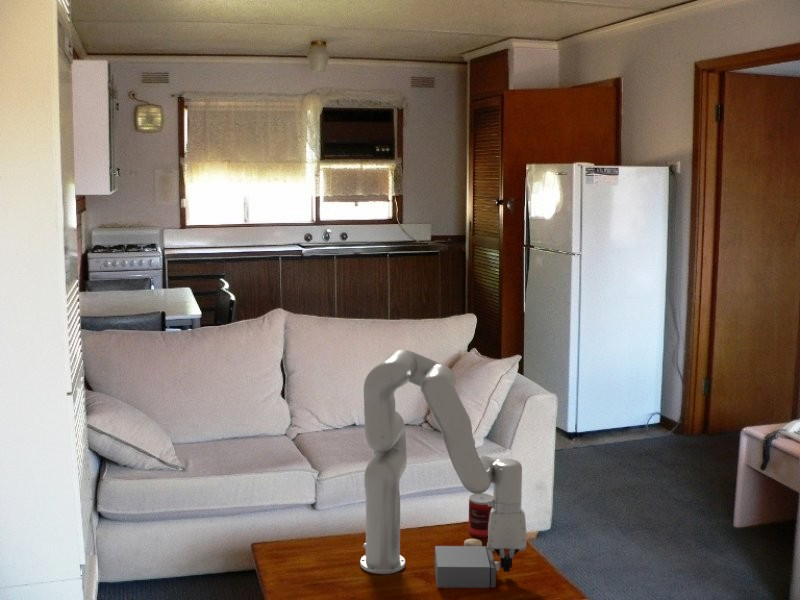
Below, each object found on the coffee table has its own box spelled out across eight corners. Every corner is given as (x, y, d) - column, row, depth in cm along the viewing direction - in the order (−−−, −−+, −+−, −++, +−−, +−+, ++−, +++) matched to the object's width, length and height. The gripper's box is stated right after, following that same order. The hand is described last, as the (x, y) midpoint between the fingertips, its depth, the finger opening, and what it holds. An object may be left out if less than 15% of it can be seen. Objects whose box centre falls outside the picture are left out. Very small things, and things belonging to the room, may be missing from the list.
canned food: (487, 525, 288) (488, 491, 286) (497, 535, 280) (498, 501, 279) (464, 528, 285) (465, 494, 284) (474, 539, 278) (475, 503, 276)
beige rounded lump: (460, 555, 266) (460, 540, 266) (474, 552, 269) (475, 537, 268) (470, 562, 262) (470, 547, 261) (484, 558, 265) (485, 543, 264)
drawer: (441, 586, 247) (441, 567, 246) (438, 564, 260) (438, 545, 259) (501, 587, 247) (501, 568, 246) (495, 564, 260) (496, 546, 259)
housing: (436, 587, 247) (437, 566, 246) (434, 565, 260) (435, 545, 259) (489, 587, 247) (490, 567, 246) (484, 565, 260) (485, 546, 259)
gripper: (480, 511, 247) (479, 576, 250) (537, 510, 247) (535, 576, 250) (478, 500, 254) (477, 564, 257) (533, 500, 254) (531, 563, 257)
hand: (506, 569), depth 253 cm, fingers closed
